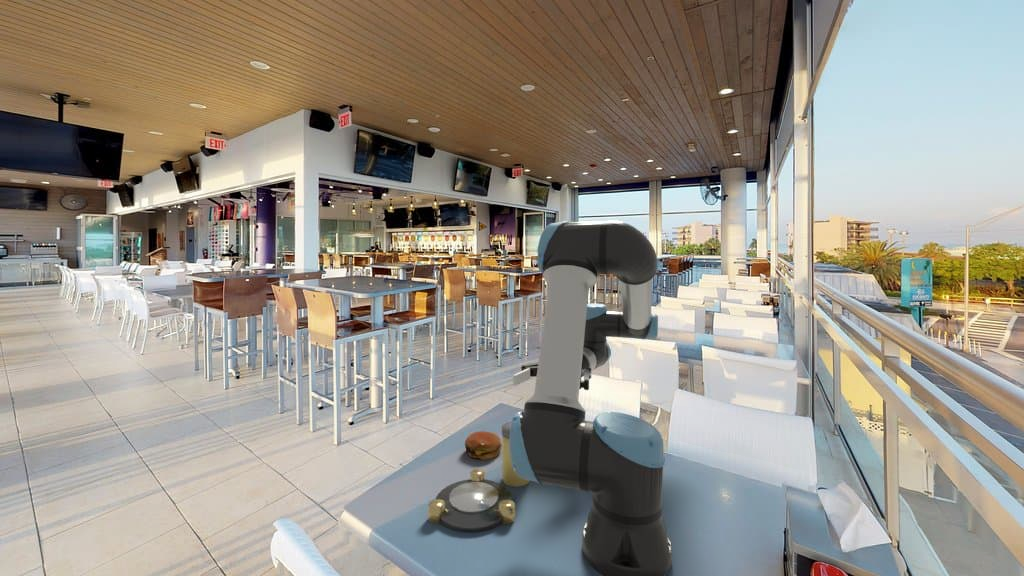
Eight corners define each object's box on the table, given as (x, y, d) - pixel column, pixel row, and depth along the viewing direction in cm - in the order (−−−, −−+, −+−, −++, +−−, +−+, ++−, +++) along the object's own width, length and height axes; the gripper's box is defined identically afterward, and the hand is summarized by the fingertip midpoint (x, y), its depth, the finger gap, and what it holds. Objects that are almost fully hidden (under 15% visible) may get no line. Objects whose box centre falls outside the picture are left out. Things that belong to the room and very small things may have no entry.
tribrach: (528, 517, 82) (528, 502, 82) (444, 547, 74) (443, 531, 74) (490, 477, 97) (490, 465, 97) (416, 498, 89) (416, 485, 88)
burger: (493, 441, 116) (493, 425, 116) (507, 456, 108) (506, 439, 108) (459, 448, 112) (459, 432, 112) (471, 464, 104) (470, 446, 103)
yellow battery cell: (536, 482, 95) (536, 426, 94) (510, 490, 92) (510, 432, 91) (521, 469, 101) (521, 416, 100) (496, 476, 98) (496, 421, 97)
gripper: (619, 385, 111) (582, 413, 95) (541, 368, 126) (497, 389, 110) (619, 358, 111) (582, 381, 94) (541, 344, 125) (496, 362, 109)
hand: (536, 386), depth 102 cm, fingers open, 13 cm apart
